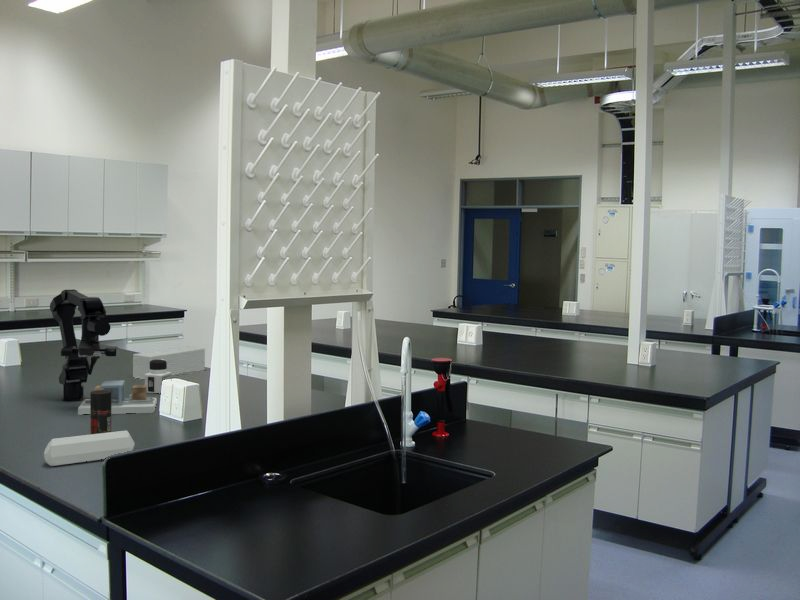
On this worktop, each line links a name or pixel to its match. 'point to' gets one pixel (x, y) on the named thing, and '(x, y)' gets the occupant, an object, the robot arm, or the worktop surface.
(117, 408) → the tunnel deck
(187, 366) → the long grey rectangular block
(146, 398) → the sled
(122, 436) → the crystal
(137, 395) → the block
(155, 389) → the container
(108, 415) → the deodorant
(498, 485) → the worktop surface
